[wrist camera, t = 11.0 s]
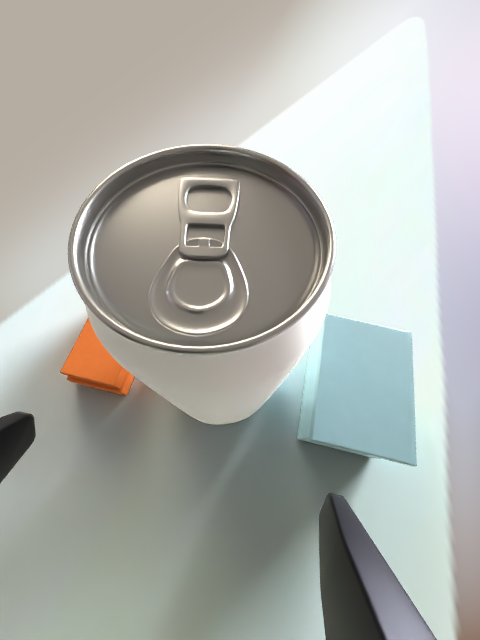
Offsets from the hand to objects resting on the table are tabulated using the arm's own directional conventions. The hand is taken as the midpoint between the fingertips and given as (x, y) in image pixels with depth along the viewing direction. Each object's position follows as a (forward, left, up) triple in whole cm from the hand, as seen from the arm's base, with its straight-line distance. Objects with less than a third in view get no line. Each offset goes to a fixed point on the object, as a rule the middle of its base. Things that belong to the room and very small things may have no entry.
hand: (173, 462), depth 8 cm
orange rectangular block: (+6, +6, -7) cm, 11 cm away
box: (+4, -8, -7) cm, 11 cm away
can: (+5, -1, -8) cm, 9 cm away
